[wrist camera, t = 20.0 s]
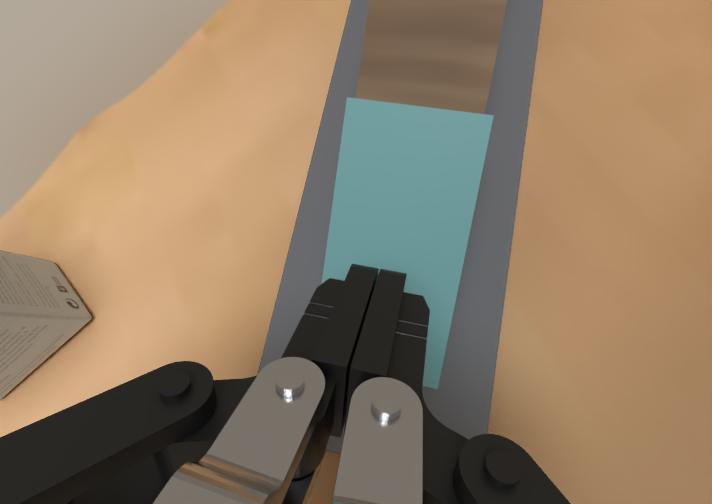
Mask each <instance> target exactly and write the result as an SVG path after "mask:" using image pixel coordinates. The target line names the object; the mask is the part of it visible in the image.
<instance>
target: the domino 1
mask: <svg viewBox="0 0 712 504" xmlns="http://www.w3.org/2000/svg"><path fill="white" fill-rule="evenodd" d="M506 5H507V0H369V7H368V14H367V21H366V28H365V35H364V42H363V50H362V57H361V64H360V71H359V78H358V85H357V93H356V98H357V99H365V100H373V101H381V102H389V103H397V104H405V105H413V106H422V107H430V108H438V109H446V110H454V111H462V112H470V113H478V114H485V110H486V105H487V100H488V95H489V90H490V85H491V80H492V75H493V70H494V65H495V60H496V55H497V50H498V45H499V40H500V35H501V30H502V25H503V20H504V15H505V10H506Z"/></svg>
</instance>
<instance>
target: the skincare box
mask: <svg viewBox="0 0 712 504" xmlns="http://www.w3.org/2000/svg"><path fill="white" fill-rule="evenodd" d="M91 318H92V317H91V315H90V313H89V312H88V310H87V309H86V307H85V306H84V304H83V303H82V301H81V299H80V298H79V296H78V295H77V294H76V292H75V291H74V289H73V288H72V286H71V285H70V283H69V282H68V280H67V279H66V278H65V276H64V275H63V274H62V272H61V271H60V269H59V268H58V266H57V265H56V264H54V263H53V262H51V261H48V260H43V259H38V258H33V257H29V256H24V255H20V254H15V253H11V252H6V251H1V250H0V399H2V398H3V397H4V396H5V395H6V394H7V393H9V392H10V391H11V390H12V389H13V388H14V387H15V386H16V385H18V384H19V383H20V382H21V381H22V380H23V379H24V378H25V377H27V376H28V375H29V374H30V373H31V372H32V371H33V370H34V369H36V368H37V367H38V366H39V365H40V364H41V363H42V362H44V361H45V360H46V359H47V358H48V357H49V356H50V355H51V354H53V353H54V352H55V351H56V350H57V349H58V348H59V347H61V346H62V345H63V344H64V343H65V342H66V341H67V340H69V339H70V338H71V337H72V336H73V335H74V334H75V333H76V332H78V331H79V330H80V329H81V328H82V327H83V326H84V325H85V324H87V323H88V322H89V321H90V320H91Z"/></svg>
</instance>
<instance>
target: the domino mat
mask: <svg viewBox="0 0 712 504" xmlns="http://www.w3.org/2000/svg"><path fill="white" fill-rule="evenodd" d="M542 6H543V0H507V5H506V10H505V15H504V20H503V25H502V30H501V35H500V40H499V45H498V50H497V55H496V60H495V65H494V70H493V75H492V80H491V85H490V90H489V95H488V100H487V105H486V110H485V114H486V115H494V117H493V122H492V127H491V131H490V136H489V141H488V146H487V151H486V156H485V161H484V166H483V170H482V175H481V180H480V185H479V190H478V195H477V200H476V204H475V209H474V214H473V219H472V224H471V229H470V234H469V239H468V243H467V248H466V253H465V258H464V263H463V268H462V273H461V277H460V282H459V287H458V292H457V297H456V302H455V307H454V312H453V316H452V321H451V326H450V331H449V336H448V341H447V346H446V351H445V355H444V360H443V365H442V370H441V375H440V380H439V385H438V389H435V388H430V387H426V386H422V393H423V398H424V401H425V404H426V406H427V408H428V409H429V411H430V412H431V413H432V415H433V416H434V417H435V418H436V419H437V420H438V421H439V422H441V423H442V424H443V425H445V426H446V427H448V428H449V429H451V430H453V431H455V432H456V433H458V434H460V435H462V436H464V437H465V438H467V439H471V438H472V437H474V436H477V435H481V434H487V429H488V421H489V413H490V406H491V398H492V390H493V383H494V375H495V367H496V359H497V352H498V344H499V336H500V329H501V321H502V313H503V306H504V298H505V290H506V283H507V275H508V267H509V260H510V252H511V244H512V236H513V229H514V221H515V213H516V206H517V198H518V190H519V183H520V175H521V167H522V160H523V152H524V144H525V137H526V129H527V121H528V113H529V106H530V98H531V90H532V83H533V75H534V67H535V60H536V52H537V44H538V37H539V29H540V21H541V14H542ZM368 7H369V0H351V3H350V7H349V11H348V15H347V19H346V23H345V27H344V31H343V35H342V39H341V43H340V47H339V51H338V55H337V59H336V63H335V67H334V71H333V75H332V79H331V83H330V87H329V91H328V95H327V99H326V103H325V107H324V111H323V115H322V119H321V123H320V127H319V131H318V135H317V139H316V143H315V147H314V151H313V155H312V159H311V163H310V167H309V171H308V175H307V179H306V183H305V187H304V191H303V195H302V199H301V203H300V207H299V211H298V215H297V219H296V223H295V227H294V231H293V235H292V239H291V243H290V247H289V251H288V255H287V259H286V263H285V267H284V271H283V275H282V279H281V283H280V287H279V291H278V295H277V299H276V303H275V307H274V311H273V315H272V319H271V323H270V327H269V331H268V335H267V339H266V343H265V347H264V351H263V355H262V359H261V363H260V367H259V371H258V374H259V373H260V371H261V370H262V369H263V368H264V367H265V366H266V365H268V364H269V363H271V362H273V361H275V360H278V359H280V358H281V357H282V355H283V353H284V351H285V349H286V347H287V345H288V343H289V341H290V339H291V337H292V335H293V333H294V331H295V329H296V327H297V325H298V324H299V322H300V320H301V318H302V316H303V315H304V312H305V310H306V308H307V306H308V304H309V303H310V300H311V298H312V296H313V294H314V292H315V290H316V288H317V287H318V286H320V285H321V284H322V277H323V269H324V262H325V255H326V247H327V240H328V233H329V225H330V218H331V211H332V203H333V196H334V189H335V181H336V174H337V167H338V159H339V152H340V145H341V137H342V130H343V123H344V115H345V108H346V101H347V97H349V98H356V93H357V85H358V78H359V71H360V64H361V57H362V50H363V42H364V35H365V28H366V21H367V14H368ZM344 427H345V423H344ZM344 427H343V431H342V434H341V438H340V437H336V436H332V435H330V437H329V440H328V443H327V447H326V450H327V451H331V452H335V453H339V454H341V451H342V446H343V441H344Z"/></svg>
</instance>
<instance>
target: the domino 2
mask: <svg viewBox="0 0 712 504" xmlns="http://www.w3.org/2000/svg"><path fill="white" fill-rule="evenodd" d="M493 117H494V115H486V114H478V113H470V112H462V111H454V110H446V109H438V108H430V107H422V106H413V105H405V104H397V103H389V102H381V101H373V100H365V99H357V98H349V97H347V101H346V108H345V115H344V123H343V130H342V137H341V145H340V152H339V159H338V167H337V174H336V181H335V189H334V196H333V203H332V211H331V218H330V225H329V233H328V240H327V247H326V255H325V262H324V269H323V277H322V283H324V282H325V281H326V280H328V279H329V278H333V279H338V280H343V281H345V278H346V276H347V274H348V271H349V269H350V266H351V265H352V264H358V265H363V266H368V267H374V268H378V269H379V271H380V269H385V270H390V271H396V272H401V273H407V276H406V282H405V287H404V292H406V293H411V294H416V295H422V296H424V299H425V301H426V303H427V305H428V307H429V309H430V314H429V325H428V335H427V345H426V355H425V365H424V375H423V386H426V387H430V388H435V389H438V385H439V380H440V375H441V370H442V365H443V360H444V355H445V351H446V346H447V341H448V336H449V331H450V326H451V321H452V316H453V312H454V307H455V302H456V297H457V292H458V287H459V282H460V277H461V273H462V268H463V263H464V258H465V253H466V248H467V243H468V239H469V234H470V229H471V224H472V219H473V214H474V209H475V204H476V200H477V195H478V190H479V185H480V180H481V175H482V170H483V166H484V161H485V156H486V151H487V146H488V141H489V136H490V131H491V127H492V122H493ZM378 274H379V272H378Z"/></svg>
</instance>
